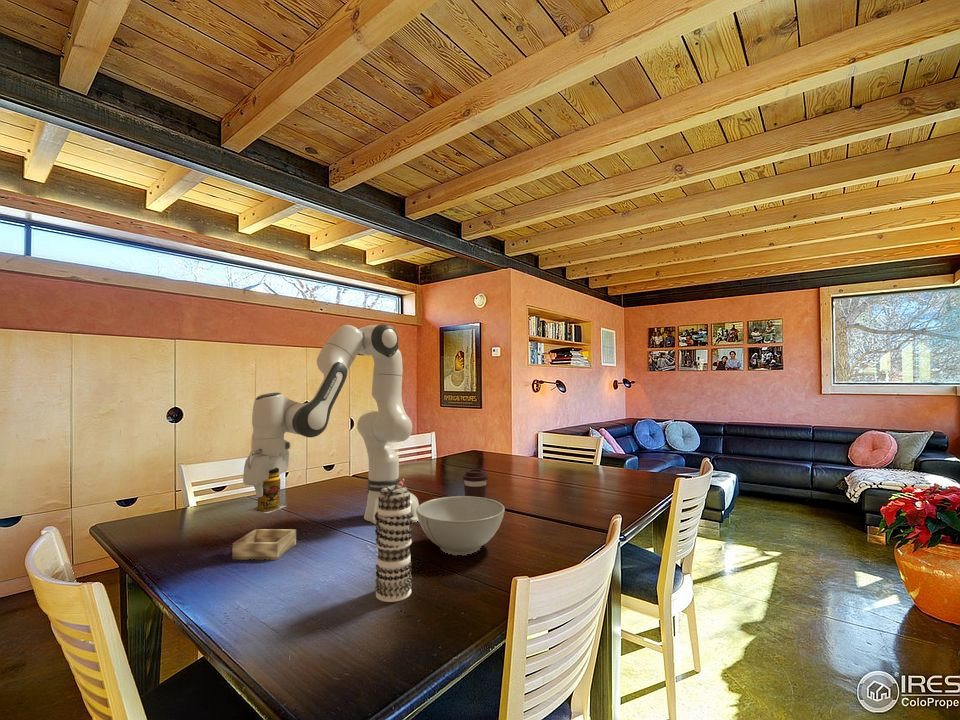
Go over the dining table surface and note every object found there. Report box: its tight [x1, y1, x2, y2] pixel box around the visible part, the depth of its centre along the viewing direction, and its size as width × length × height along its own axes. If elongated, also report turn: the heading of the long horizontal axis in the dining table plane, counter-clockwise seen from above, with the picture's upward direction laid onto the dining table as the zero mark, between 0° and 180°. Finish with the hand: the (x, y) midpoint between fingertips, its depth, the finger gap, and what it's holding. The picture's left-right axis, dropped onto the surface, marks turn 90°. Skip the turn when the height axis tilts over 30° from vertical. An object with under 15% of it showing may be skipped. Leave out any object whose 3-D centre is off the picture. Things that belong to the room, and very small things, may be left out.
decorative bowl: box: [416, 495, 506, 556], centre depth 134 cm, size 27×27×12 cm
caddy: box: [231, 528, 297, 561], centre depth 131 cm, size 13×12×4 cm
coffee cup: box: [462, 468, 489, 498], centre depth 174 cm, size 10×10×15 cm
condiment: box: [245, 468, 286, 514], centre depth 133 cm, size 7×8×12 cm
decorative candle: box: [374, 485, 414, 603], centre depth 106 cm, size 9×9×25 cm
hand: (266, 493), depth 132 cm, fingers closed on condiment, 6 cm apart
